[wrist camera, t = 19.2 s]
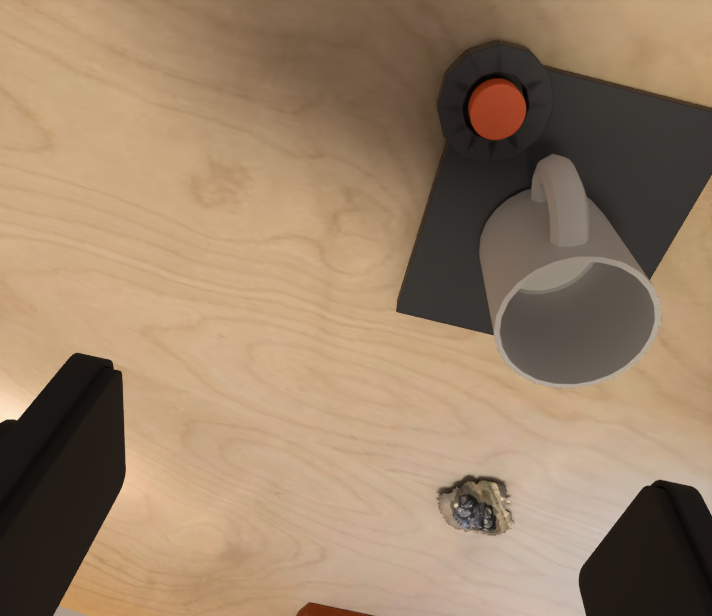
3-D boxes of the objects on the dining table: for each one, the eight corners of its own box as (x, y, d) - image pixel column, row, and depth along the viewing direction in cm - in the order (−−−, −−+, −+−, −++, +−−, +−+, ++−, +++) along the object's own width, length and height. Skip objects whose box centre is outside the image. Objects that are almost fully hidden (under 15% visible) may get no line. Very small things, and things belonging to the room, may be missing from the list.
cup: (480, 299, 35) (496, 392, 28) (471, 141, 30) (488, 204, 23) (601, 289, 34) (652, 384, 27) (613, 122, 29) (680, 182, 22)
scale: (455, 25, 29) (458, 33, 26) (740, 98, 29) (770, 113, 27) (378, 296, 38) (375, 321, 35) (596, 348, 38) (608, 376, 36)
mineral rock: (487, 464, 45) (490, 482, 44) (540, 518, 48) (544, 537, 46) (420, 495, 48) (419, 513, 46) (473, 544, 51) (475, 563, 49)
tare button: (478, 71, 27) (480, 78, 26) (529, 85, 27) (534, 91, 26) (461, 125, 29) (463, 133, 27) (510, 137, 29) (514, 146, 27)
